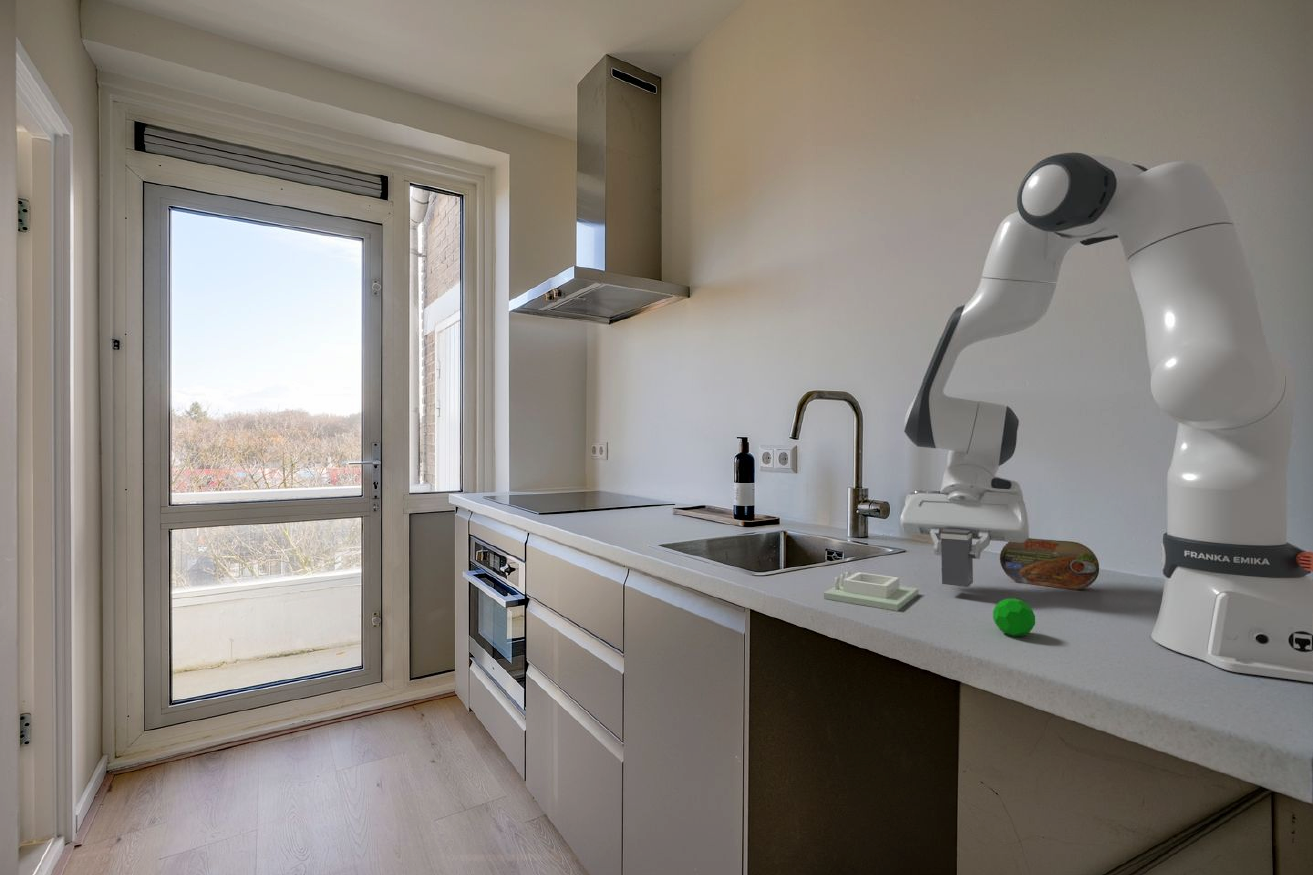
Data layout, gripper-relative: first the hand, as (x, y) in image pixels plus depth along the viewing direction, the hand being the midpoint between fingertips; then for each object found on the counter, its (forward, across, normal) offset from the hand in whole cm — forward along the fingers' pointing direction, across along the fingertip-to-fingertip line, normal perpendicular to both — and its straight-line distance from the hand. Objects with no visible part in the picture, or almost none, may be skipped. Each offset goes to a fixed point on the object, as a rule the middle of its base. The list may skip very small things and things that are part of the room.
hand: (956, 554), depth 102 cm
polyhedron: (+17, +10, -6) cm, 21 cm away
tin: (-7, +11, +18) cm, 22 cm away
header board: (+11, -12, -1) cm, 16 cm away
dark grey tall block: (+3, 0, +4) cm, 5 cm away
